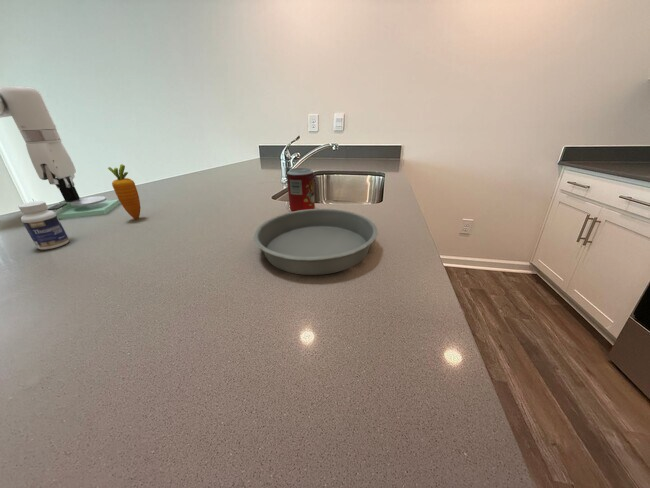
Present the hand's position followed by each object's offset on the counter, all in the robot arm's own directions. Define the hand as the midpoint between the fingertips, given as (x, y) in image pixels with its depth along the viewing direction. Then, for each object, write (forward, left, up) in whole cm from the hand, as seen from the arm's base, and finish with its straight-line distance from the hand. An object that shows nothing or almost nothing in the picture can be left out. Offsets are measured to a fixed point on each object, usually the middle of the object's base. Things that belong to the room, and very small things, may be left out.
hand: (72, 199), depth 81 cm
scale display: (0, -8, 0) cm, 8 cm away
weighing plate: (+6, -5, 0) cm, 8 cm away
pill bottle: (+9, -31, -3) cm, 32 cm away
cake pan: (+65, -53, -3) cm, 84 cm away
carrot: (+22, -19, -3) cm, 29 cm away
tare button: (0, 0, -2) cm, 2 cm away
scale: (+4, -4, -3) cm, 6 cm away
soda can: (+67, -31, -3) cm, 74 cm away
